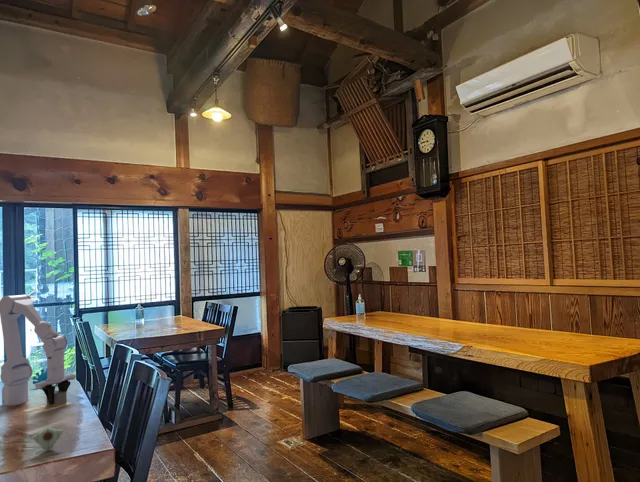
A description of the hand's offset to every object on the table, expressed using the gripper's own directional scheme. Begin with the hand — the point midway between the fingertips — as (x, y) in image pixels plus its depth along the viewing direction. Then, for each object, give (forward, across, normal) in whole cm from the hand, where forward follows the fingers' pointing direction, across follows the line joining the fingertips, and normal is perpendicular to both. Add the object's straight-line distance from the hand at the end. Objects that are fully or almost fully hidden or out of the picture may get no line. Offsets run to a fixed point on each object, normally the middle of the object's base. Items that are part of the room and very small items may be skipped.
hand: (56, 402), depth 176 cm
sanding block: (0, 0, 0) cm, 0 cm away
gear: (+2, +18, +38) cm, 42 cm away
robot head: (+2, -27, -40) cm, 48 cm away
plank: (+2, -3, 0) cm, 4 cm away
